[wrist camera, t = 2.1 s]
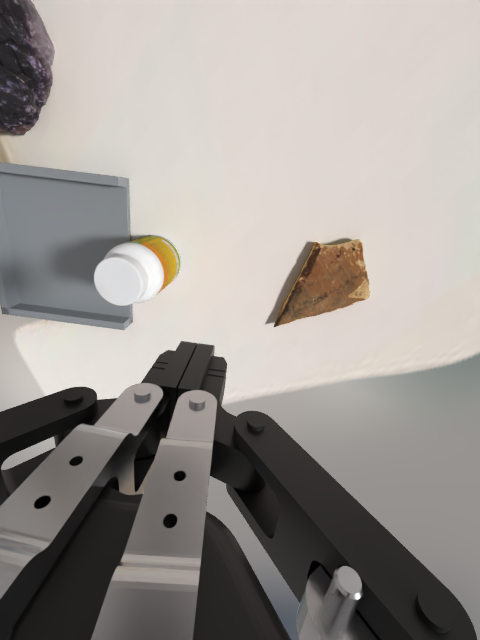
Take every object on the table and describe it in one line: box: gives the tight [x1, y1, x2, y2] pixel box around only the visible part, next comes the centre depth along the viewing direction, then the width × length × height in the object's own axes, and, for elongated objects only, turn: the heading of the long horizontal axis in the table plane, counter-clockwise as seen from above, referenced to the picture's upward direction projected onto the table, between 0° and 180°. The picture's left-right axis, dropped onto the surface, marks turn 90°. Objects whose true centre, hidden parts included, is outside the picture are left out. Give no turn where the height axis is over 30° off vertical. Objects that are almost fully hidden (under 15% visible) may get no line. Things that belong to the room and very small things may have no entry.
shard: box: [274, 239, 370, 327], centre depth 31 cm, size 11×8×2 cm
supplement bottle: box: [94, 235, 181, 306], centre depth 28 cm, size 5×5×10 cm
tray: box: [0, 162, 133, 330], centre depth 31 cm, size 16×14×2 cm
